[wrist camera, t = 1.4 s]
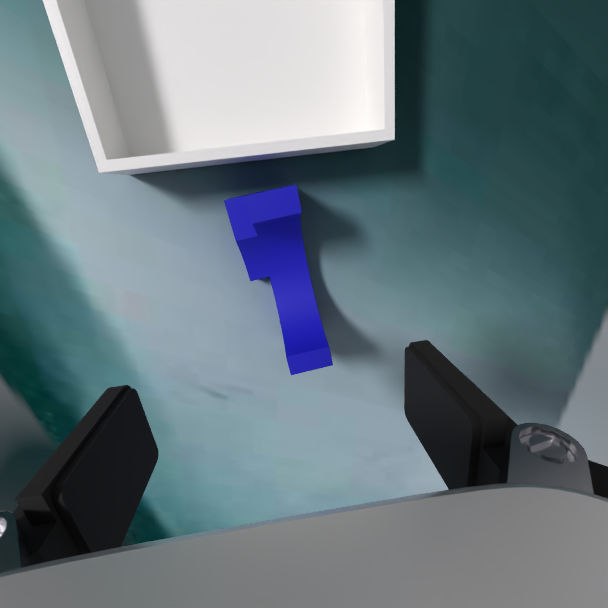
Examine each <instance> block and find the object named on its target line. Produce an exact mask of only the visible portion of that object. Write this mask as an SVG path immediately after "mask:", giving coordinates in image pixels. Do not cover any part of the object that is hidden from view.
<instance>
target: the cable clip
mask: <svg viewBox="0 0 608 608" xmlns="http://www.w3.org/2000/svg"><path fill="white" fill-rule="evenodd" d="M224 202H225V205H226V209H227V212H228V216H229V219H230V223H231V226H232V229H233V233H234V236H235V240H236V242H237V245H238V247H239V249H240V252H241V254H242V257H243V260H244V262H245V265H246V268H247V271H248V275H249V278H250V281H253V280H257V279H262V278H266V277H270V280H271V284H272V288H273V292H274V296H275V300H276V305H277V309H278V314H279V318H280V323H281V328H282V333H283V339H284V344H285V351H286V358H287V362H288V365H289V369H290V373H291V375H294V374H298V373H302V372H306V371H310V370H314V369H319V368H323V367H327V366H331V365H333V363H332V358H331V353H330V348H329V345H328V342H327V339H326V336H325V333H324V330H323V326H322V323H321V319H320V316H319V312H318V308H317V304H316V300H315V296H314V292H313V288H312V283H311V279H310V274H309V270H308V265H307V260H306V255H305V250H304V244H303V238H302V231H301V222H300V214H301V213H302V210H301V205H300V200H299V195H298V190H297V185H289V186H284V187H280V188H275V189H271V190H266V191H262V192H257V193H253V194H248V195H244V196H240V197H235V198H231V199H227V200H224Z"/></svg>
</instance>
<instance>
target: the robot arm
mask: <svg viewBox="0 0 608 608" xmlns="http://www.w3.org/2000/svg"><path fill="white" fill-rule="evenodd" d="M404 409H405V415H406V418H407V420H408V422H409V423H410V425H411V427H412V428H413V430H414V432H415V433H416V435H417V437H418V438H419V440H420V442H421V443H422V445H423V447H424V448H425V450H426V452H427V453H428V455H429V457H430V459H431V460H432V462H433V464H434V465H435V467H436V469H437V470H438V472H439V474H440V475H441V477H442V479H443V480H444V482H445V484H446V485H447V487H448V489H449V490H445V491H438V492H432V493H425V494H419V495H412V496H406V497H400V498H394V499H388V500H382V501H377V502H371V503H365V504H359V505H353V506H347V507H342V508H336V509H330V510H324V511H318V512H313V513H307V514H301V515H296V516H290V517H284V518H279V519H273V520H267V521H262V522H256V523H250V524H245V525H239V526H234V527H228V528H222V529H217V530H211V531H206V532H200V533H195V534H189V535H184V536H178V537H173V538H167V539H162V540H157V541H151V542H146V543H140V544H135V545H129V546H124V547H121V545H122V542H123V540H124V538H125V535H126V533H127V531H128V528H129V526H130V524H131V521H132V519H133V517H134V514H135V512H136V510H137V507H138V505H139V503H140V500H141V498H142V495H143V493H144V491H145V488H146V486H147V484H148V481H149V479H150V477H151V474H152V472H153V470H154V467H155V465H156V463H157V460H158V448H157V445H156V443H155V440H154V437H153V434H152V432H151V429H150V426H149V423H148V421H147V418H146V415H145V412H144V410H143V407H142V404H141V401H140V399H139V396H138V393H137V391H136V390H135V389H131V387H130V386H128V385H124V386H117V387H111V388H108V389H107V390H106V391H105V392H104V393H103V395H102V396H101V397H100V398H99V399H98V401H97V402H96V403H95V404H94V405H93V406H92V408H91V409H90V410H89V411H88V412H87V414H86V415H85V416H84V417H83V418H82V420H81V421H80V422H79V423H78V424H77V426H76V427H75V428H74V429H73V430H72V432H71V433H70V434H69V435H68V436H67V438H66V439H65V440H64V441H63V442H62V444H61V445H60V446H59V447H58V448H57V450H56V451H55V452H54V453H53V455H52V456H51V457H50V458H49V459H48V461H47V462H46V463H45V464H44V465H43V467H42V468H41V469H40V470H39V471H38V472H37V474H36V475H35V476H34V477H33V479H32V480H31V481H30V482H29V483H28V484H27V486H26V487H25V488H24V489H23V490H22V492H21V493H20V494H19V495H18V496H17V498H16V501H17V503H18V504H19V506H18V507H17V508H16V509H15V511H14V512H13V513H12V512H9V511H0V608H608V467H607V466H604V465H601V464H598V463H595V462H592V461H589V460H588V459H587V455H586V452H585V450H584V448H583V447H582V446H581V445H580V444H579V442H578V441H576V440H575V439H574V438H572V437H571V436H570V435H568V434H566V433H565V432H563V431H561V430H559V429H557V428H554V427H551V426H548V425H544V424H538V423H524V424H520V425H517V424H516V423H515V422H514V421H513V420H512V419H511V418H509V417H508V416H507V415H506V414H505V413H504V412H503V411H502V410H501V409H500V408H499V407H498V406H497V405H496V404H495V403H494V402H493V401H492V400H491V399H489V398H488V397H487V396H486V395H485V394H484V393H483V392H482V391H481V390H480V389H479V388H478V387H477V386H476V385H475V384H474V383H473V382H472V381H470V380H469V379H468V378H467V377H466V376H465V375H464V374H463V373H462V372H461V371H460V370H458V369H457V368H456V367H455V366H454V365H453V364H452V363H451V362H450V361H449V360H448V359H447V358H446V357H445V356H444V355H443V354H442V353H441V352H440V351H438V350H437V349H436V348H435V347H434V346H433V345H432V344H431V343H430V342H429V341H427V340H424V341H418V342H411V343H410V345H409V347H406V348H405V403H404Z"/></svg>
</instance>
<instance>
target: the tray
mask: <svg viewBox="0 0 608 608" xmlns="http://www.w3.org/2000/svg"><path fill="white" fill-rule="evenodd" d="M43 2H44V5H45V8H46V12H47V15H48V18H49V21H50V24H51V27H52V30H53V33H54V36H55V39H56V42H57V45H58V48H59V51H60V54H61V57H62V60H63V63H64V66H65V70H66V73H67V76H68V79H69V82H70V85H71V88H72V91H73V94H74V97H75V100H76V103H77V106H78V109H79V112H80V115H81V118H82V121H83V124H84V127H85V131H86V134H87V137H88V140H89V143H90V146H91V149H92V152H93V155H94V158H95V161H96V164H97V167H98V170H99V173H109V174H122V175H134V174H143V173H152V172H161V171H169V170H178V169H187V168H196V167H205V166H214V165H222V164H231V163H240V162H249V161H258V160H266V159H275V158H284V157H293V156H302V155H311V154H319V153H328V152H337V151H346V150H355V149H363V148H372V147H376V146H379V145H381V144H384V143H387V142H389V141H392V140H395V0H43Z"/></svg>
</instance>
